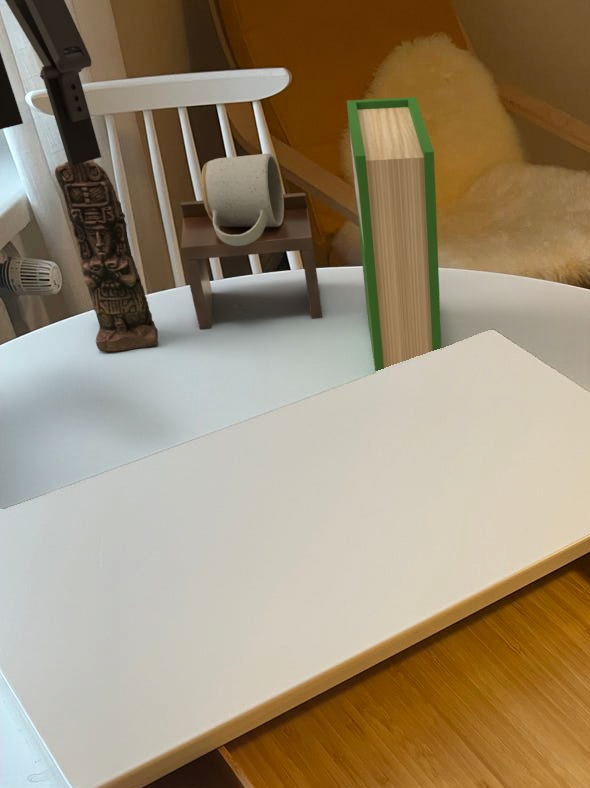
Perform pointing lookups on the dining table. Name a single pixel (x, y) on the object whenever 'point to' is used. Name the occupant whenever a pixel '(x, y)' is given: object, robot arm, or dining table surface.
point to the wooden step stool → (244, 249)
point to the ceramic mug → (243, 195)
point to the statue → (106, 258)
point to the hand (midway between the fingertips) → (45, 143)
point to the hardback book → (396, 227)
